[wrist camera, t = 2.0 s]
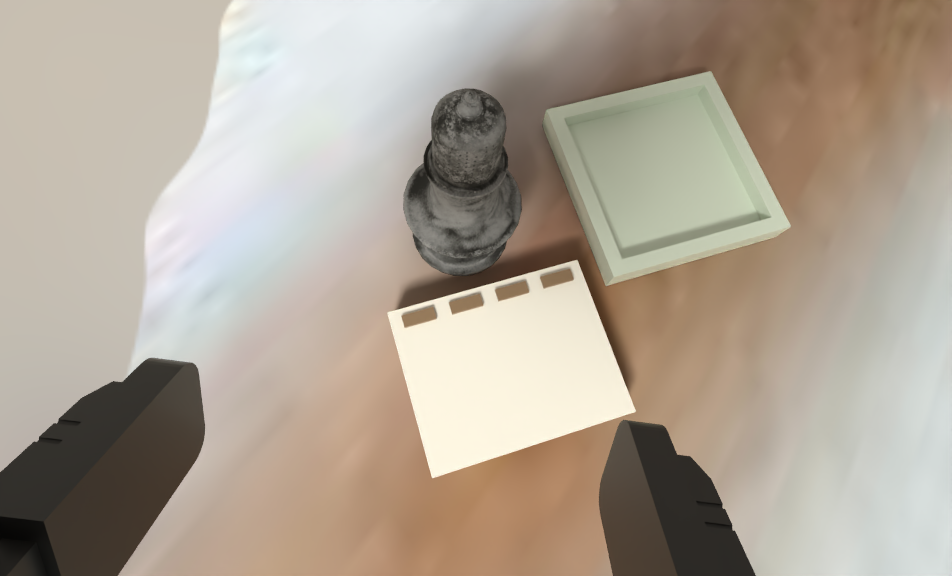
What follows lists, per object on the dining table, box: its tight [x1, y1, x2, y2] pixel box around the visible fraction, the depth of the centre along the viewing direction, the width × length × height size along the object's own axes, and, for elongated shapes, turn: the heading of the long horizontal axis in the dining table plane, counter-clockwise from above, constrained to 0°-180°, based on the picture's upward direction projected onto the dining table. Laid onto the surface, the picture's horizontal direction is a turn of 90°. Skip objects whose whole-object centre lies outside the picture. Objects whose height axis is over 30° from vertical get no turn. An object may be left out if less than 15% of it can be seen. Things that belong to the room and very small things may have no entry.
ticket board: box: [387, 260, 636, 478], centre depth 27 cm, size 10×8×2 cm
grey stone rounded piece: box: [403, 89, 522, 276], centre depth 25 cm, size 6×6×12 cm
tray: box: [542, 71, 791, 286], centre depth 31 cm, size 11×11×2 cm
